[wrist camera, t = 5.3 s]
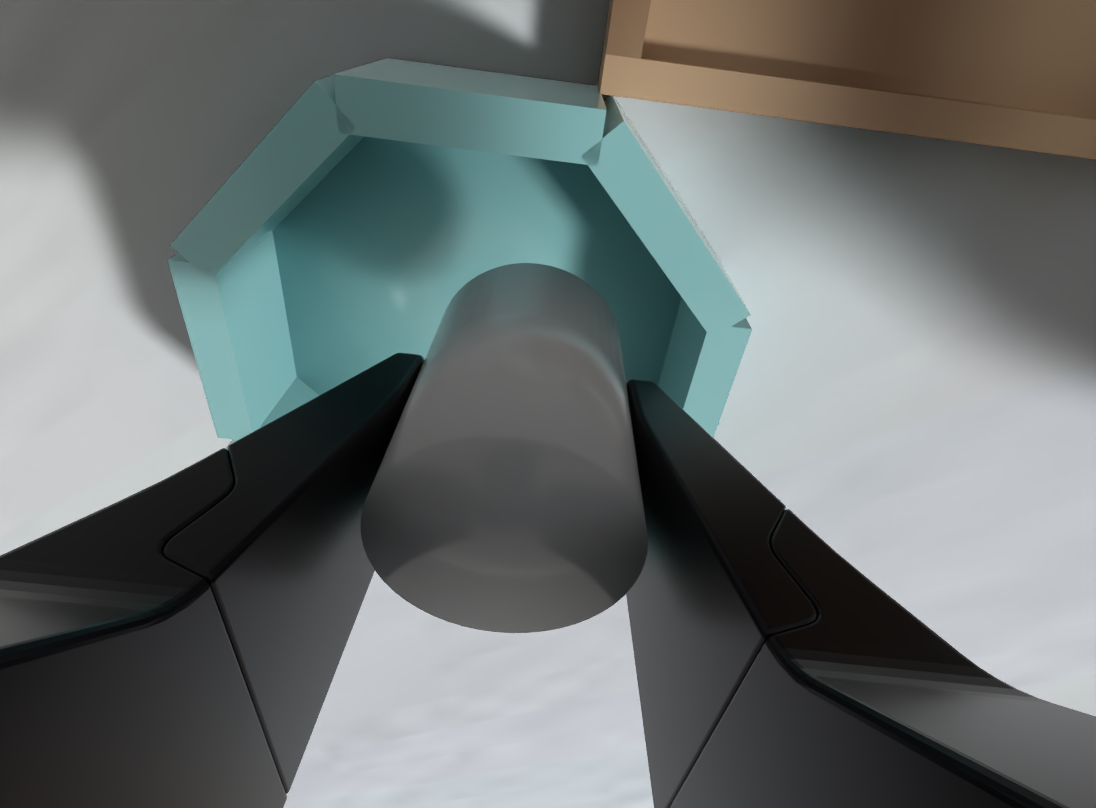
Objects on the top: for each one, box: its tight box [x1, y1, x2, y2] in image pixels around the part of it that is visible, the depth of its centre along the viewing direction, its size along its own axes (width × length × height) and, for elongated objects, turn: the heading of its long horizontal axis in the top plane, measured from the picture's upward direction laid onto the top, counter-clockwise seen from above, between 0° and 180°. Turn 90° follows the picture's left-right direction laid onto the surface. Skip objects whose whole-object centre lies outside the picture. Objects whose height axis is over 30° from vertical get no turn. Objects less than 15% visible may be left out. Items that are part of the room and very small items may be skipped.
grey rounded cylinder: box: [360, 263, 648, 633], centre depth 8 cm, size 3×3×4 cm
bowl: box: [167, 58, 752, 449], centre depth 13 cm, size 11×11×3 cm
